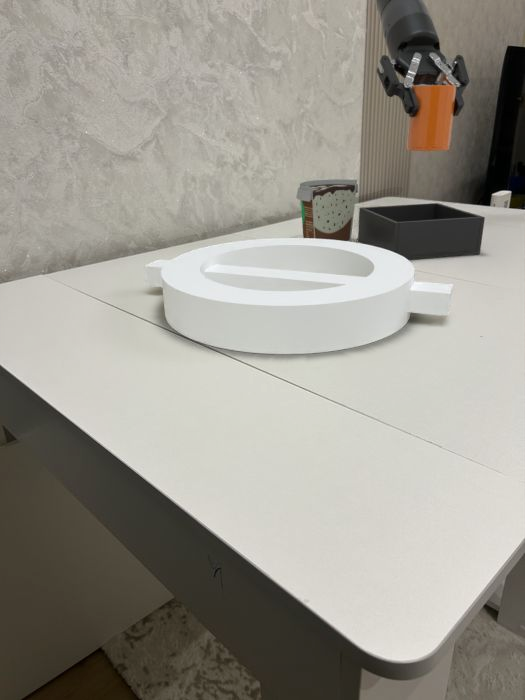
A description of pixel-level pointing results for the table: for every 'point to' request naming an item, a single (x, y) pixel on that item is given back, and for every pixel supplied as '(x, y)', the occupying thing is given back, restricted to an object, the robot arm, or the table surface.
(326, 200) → the food container
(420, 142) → the drinking cup
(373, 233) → the basket
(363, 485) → the table surface
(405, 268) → the ring with crossbar
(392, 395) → the table surface
